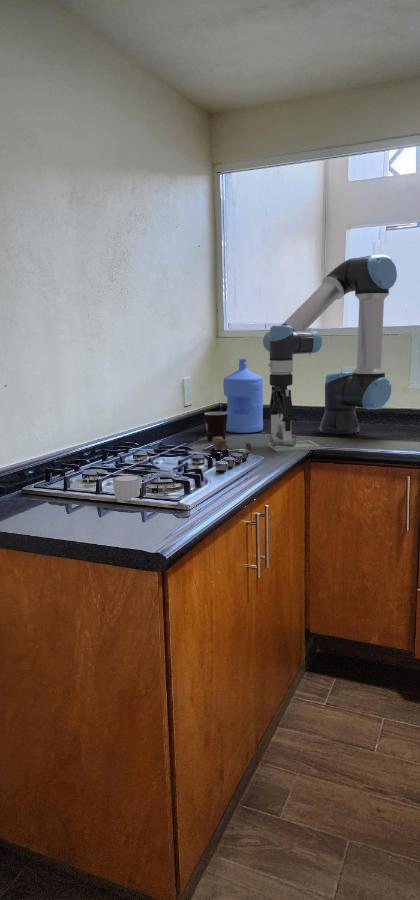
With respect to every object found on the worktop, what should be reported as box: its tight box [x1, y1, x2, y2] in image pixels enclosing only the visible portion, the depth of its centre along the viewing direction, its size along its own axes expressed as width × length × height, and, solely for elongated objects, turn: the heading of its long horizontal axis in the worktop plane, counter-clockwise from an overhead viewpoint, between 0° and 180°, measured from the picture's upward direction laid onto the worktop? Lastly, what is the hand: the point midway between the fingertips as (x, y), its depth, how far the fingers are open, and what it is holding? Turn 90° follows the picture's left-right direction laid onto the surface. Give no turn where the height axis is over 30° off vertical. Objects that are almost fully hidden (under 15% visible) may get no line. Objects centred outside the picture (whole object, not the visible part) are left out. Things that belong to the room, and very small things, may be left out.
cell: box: [276, 412, 293, 439], centre depth 197 cm, size 4×4×9 cm
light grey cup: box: [112, 474, 143, 503], centre depth 141 cm, size 7×7×7 cm
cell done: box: [269, 433, 298, 447], centre depth 201 cm, size 4×4×9 cm
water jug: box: [222, 358, 264, 434], centre depth 237 cm, size 16×16×28 cm
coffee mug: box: [203, 411, 228, 442], centre depth 220 cm, size 12×9×10 cm
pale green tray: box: [268, 439, 321, 452], centre depth 203 cm, size 15×10×1 cm, turn 100°
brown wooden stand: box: [211, 436, 253, 450], centre depth 200 cm, size 12×9×5 cm
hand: (280, 436), depth 201 cm, fingers open, 13 cm apart
